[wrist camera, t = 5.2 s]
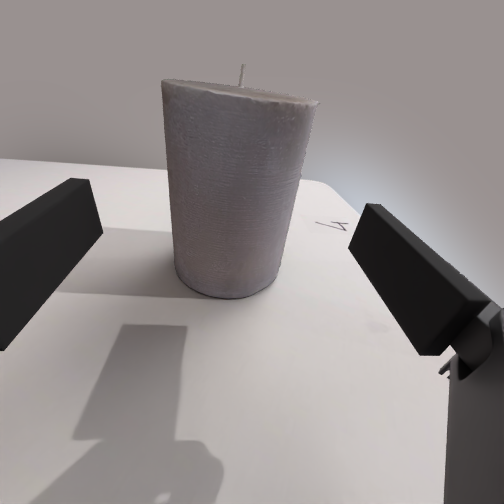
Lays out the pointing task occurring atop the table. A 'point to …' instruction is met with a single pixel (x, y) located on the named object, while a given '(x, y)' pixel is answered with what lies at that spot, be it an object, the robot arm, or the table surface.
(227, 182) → the pillar candle
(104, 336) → the table surface
